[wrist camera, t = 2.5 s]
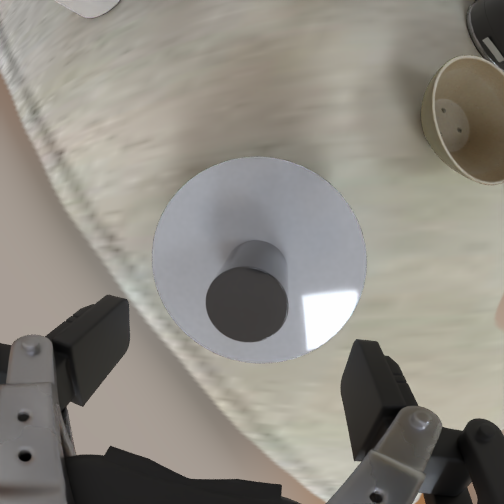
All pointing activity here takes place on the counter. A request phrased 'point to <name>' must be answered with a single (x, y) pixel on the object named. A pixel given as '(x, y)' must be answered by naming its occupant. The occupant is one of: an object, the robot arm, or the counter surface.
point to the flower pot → (467, 118)
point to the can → (89, 6)
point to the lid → (259, 259)
